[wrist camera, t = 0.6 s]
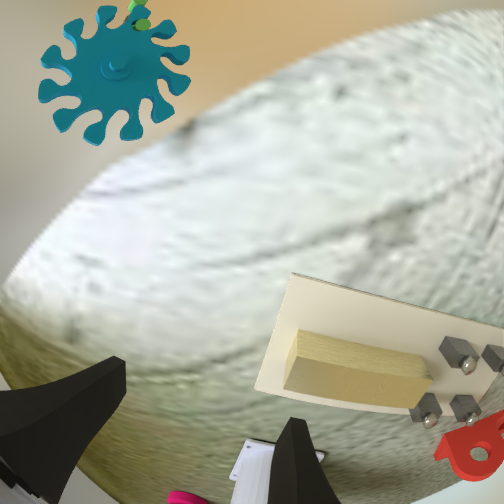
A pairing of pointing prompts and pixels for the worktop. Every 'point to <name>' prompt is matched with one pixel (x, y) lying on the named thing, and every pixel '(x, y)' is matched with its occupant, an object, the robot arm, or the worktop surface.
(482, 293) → the worktop surface
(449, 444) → the bracket
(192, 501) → the pepper mill
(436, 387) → the mat
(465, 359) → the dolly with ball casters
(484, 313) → the worktop surface
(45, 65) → the gear
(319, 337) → the sanding block
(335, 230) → the worktop surface
